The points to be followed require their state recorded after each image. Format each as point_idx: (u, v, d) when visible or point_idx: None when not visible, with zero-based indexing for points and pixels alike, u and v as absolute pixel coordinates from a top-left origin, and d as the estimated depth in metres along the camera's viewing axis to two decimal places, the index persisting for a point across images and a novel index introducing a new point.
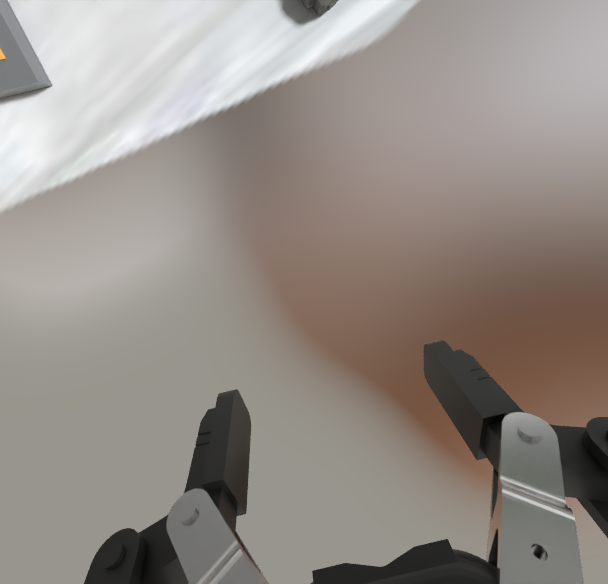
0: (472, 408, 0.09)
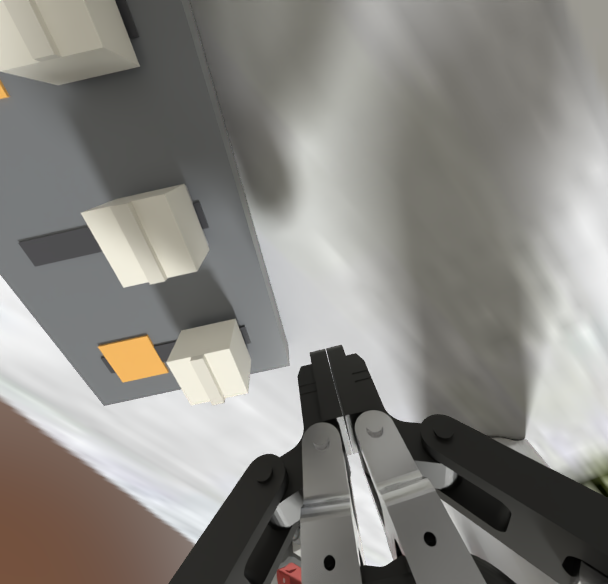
0: (342, 407, 0.10)
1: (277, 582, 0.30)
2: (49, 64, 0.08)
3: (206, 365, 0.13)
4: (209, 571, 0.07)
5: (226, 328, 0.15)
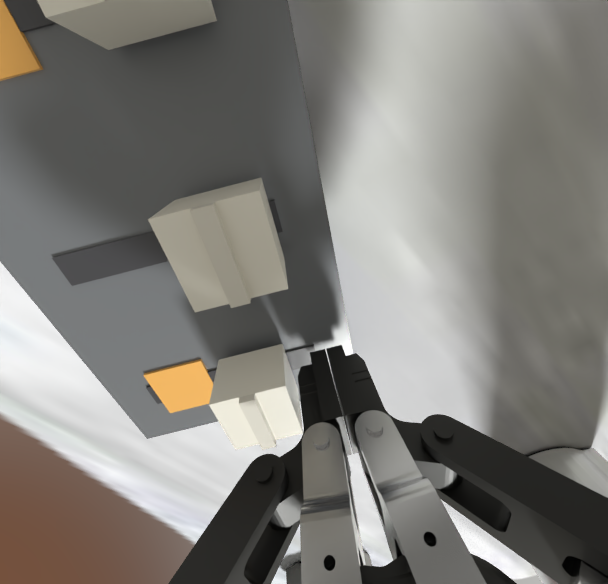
0: (342, 407, 0.10)
1: None
2: (114, 7, 0.06)
3: (258, 407, 0.11)
4: (209, 571, 0.07)
5: (274, 357, 0.12)
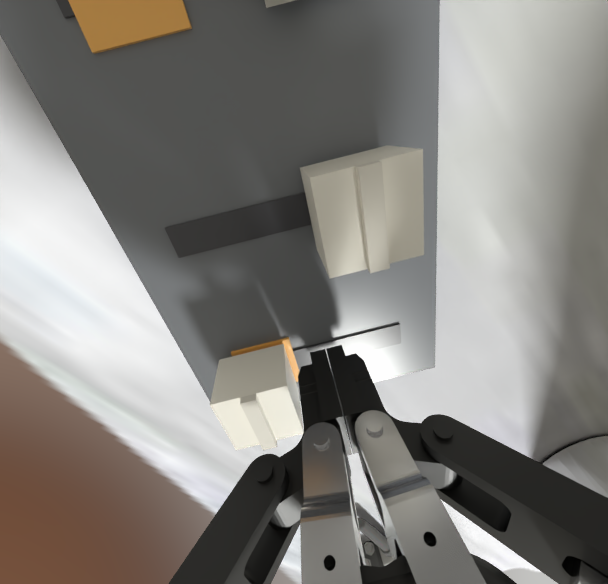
0: (342, 407, 0.10)
1: None
2: None
3: (259, 407, 0.11)
4: (209, 571, 0.07)
5: (275, 357, 0.12)
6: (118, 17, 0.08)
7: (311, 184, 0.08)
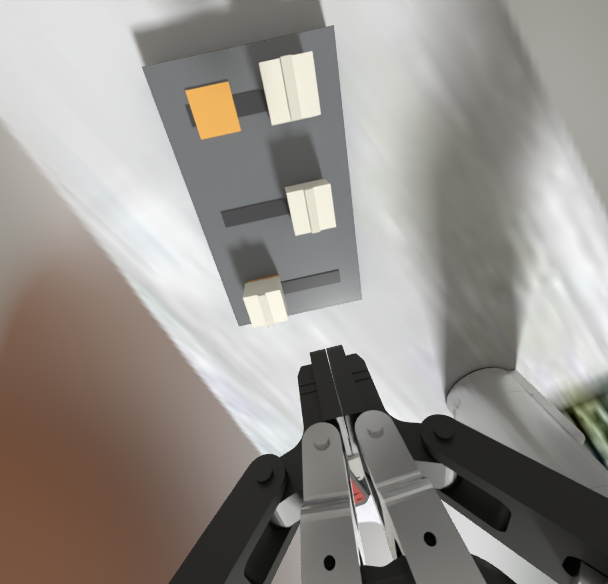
0: (342, 407, 0.10)
1: None
2: (291, 120, 0.18)
3: (266, 299, 0.23)
4: (209, 571, 0.07)
5: (274, 280, 0.24)
6: (213, 127, 0.19)
7: (287, 195, 0.19)
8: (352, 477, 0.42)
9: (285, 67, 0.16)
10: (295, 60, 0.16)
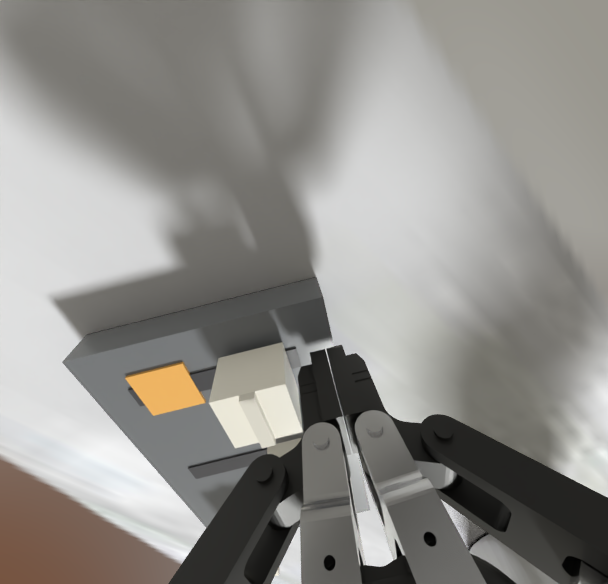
0: (342, 407, 0.10)
1: None
2: None
3: None
4: (209, 571, 0.07)
5: None
6: (167, 404, 0.15)
7: None
8: None
9: (247, 409, 0.11)
10: (261, 393, 0.11)
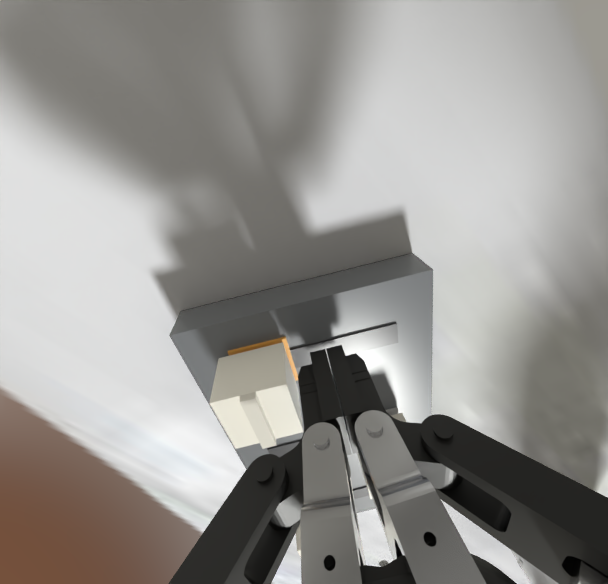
0: (342, 407, 0.10)
1: None
2: None
3: None
4: (209, 571, 0.07)
5: None
6: None
7: None
8: None
9: (248, 409, 0.11)
10: (262, 394, 0.11)
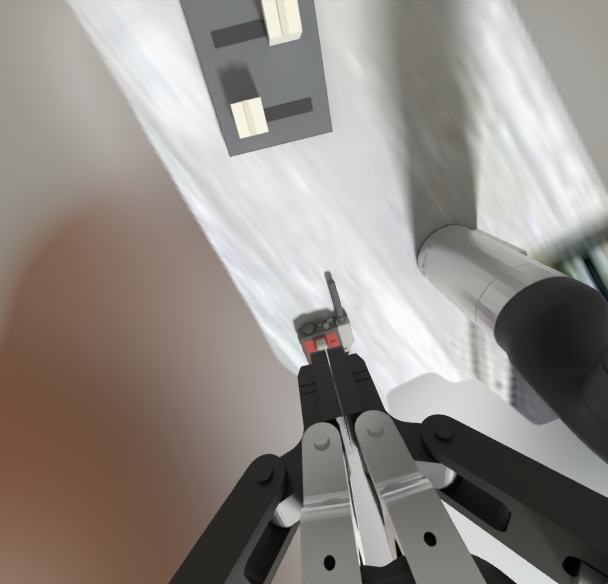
0: (342, 407, 0.10)
1: (325, 341, 0.45)
2: None
3: (249, 105, 0.28)
4: (209, 571, 0.07)
5: None
6: None
7: None
8: None
9: None
10: None
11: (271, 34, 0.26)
